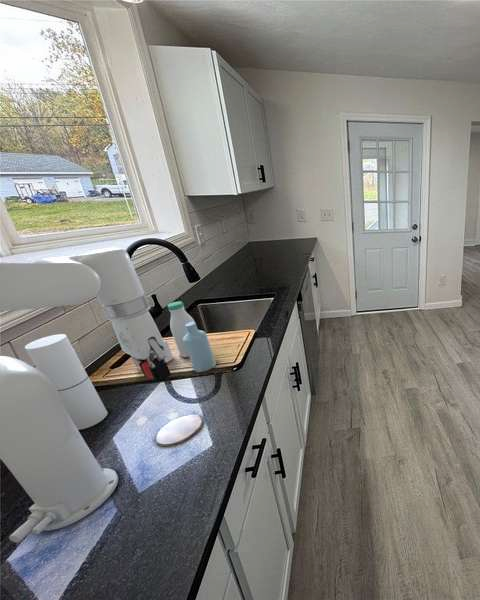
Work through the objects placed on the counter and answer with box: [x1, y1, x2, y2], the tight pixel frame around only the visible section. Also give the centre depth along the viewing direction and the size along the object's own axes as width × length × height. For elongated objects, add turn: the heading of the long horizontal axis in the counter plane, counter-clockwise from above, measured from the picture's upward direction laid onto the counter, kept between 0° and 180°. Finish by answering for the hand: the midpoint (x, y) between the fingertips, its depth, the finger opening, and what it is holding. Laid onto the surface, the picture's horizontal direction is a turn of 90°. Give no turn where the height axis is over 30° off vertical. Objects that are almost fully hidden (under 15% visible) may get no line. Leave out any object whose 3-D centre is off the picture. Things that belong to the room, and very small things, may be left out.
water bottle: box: [183, 322, 217, 373], centre depth 105 cm, size 7×7×16 cm
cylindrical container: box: [24, 333, 109, 431], centre depth 82 cm, size 7×7×25 cm
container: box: [130, 339, 174, 371], centre depth 109 cm, size 8×8×13 cm
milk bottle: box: [167, 301, 196, 358], centre depth 114 cm, size 8×8×20 cm
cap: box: [141, 357, 156, 379], centre depth 73 cm, size 4×4×3 cm
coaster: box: [155, 414, 203, 447], centre depth 81 cm, size 10×10×1 cm
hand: (158, 375), depth 74 cm, fingers closed on cap, 4 cm apart
